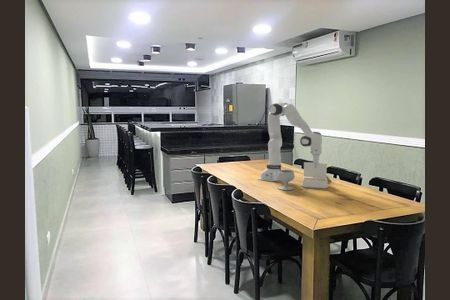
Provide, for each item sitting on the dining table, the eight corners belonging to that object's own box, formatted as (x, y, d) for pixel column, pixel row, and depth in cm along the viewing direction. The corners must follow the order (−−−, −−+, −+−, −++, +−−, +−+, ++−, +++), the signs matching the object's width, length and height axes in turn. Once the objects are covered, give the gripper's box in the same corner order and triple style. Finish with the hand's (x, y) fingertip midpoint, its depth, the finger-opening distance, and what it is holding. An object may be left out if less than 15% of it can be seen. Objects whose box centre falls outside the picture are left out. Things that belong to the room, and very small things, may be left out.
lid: (303, 162, 283) (303, 162, 283) (303, 176, 288) (303, 176, 289) (326, 163, 278) (326, 163, 279) (326, 177, 283) (326, 177, 284)
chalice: (297, 189, 267) (298, 171, 265) (284, 191, 260) (284, 173, 258) (286, 186, 279) (287, 169, 277) (273, 188, 272) (273, 170, 271)
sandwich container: (332, 181, 302) (332, 165, 300) (317, 182, 297) (317, 165, 296) (326, 179, 310) (327, 163, 308) (312, 180, 306) (312, 164, 304)
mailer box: (302, 187, 276) (302, 180, 275) (302, 183, 289) (302, 177, 289) (327, 188, 271) (327, 181, 271) (326, 185, 285) (326, 178, 284)
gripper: (311, 149, 284) (311, 165, 286) (312, 152, 264) (311, 169, 266) (319, 150, 283) (318, 165, 284) (320, 152, 263) (319, 169, 264)
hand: (315, 167), depth 275 cm, fingers closed
